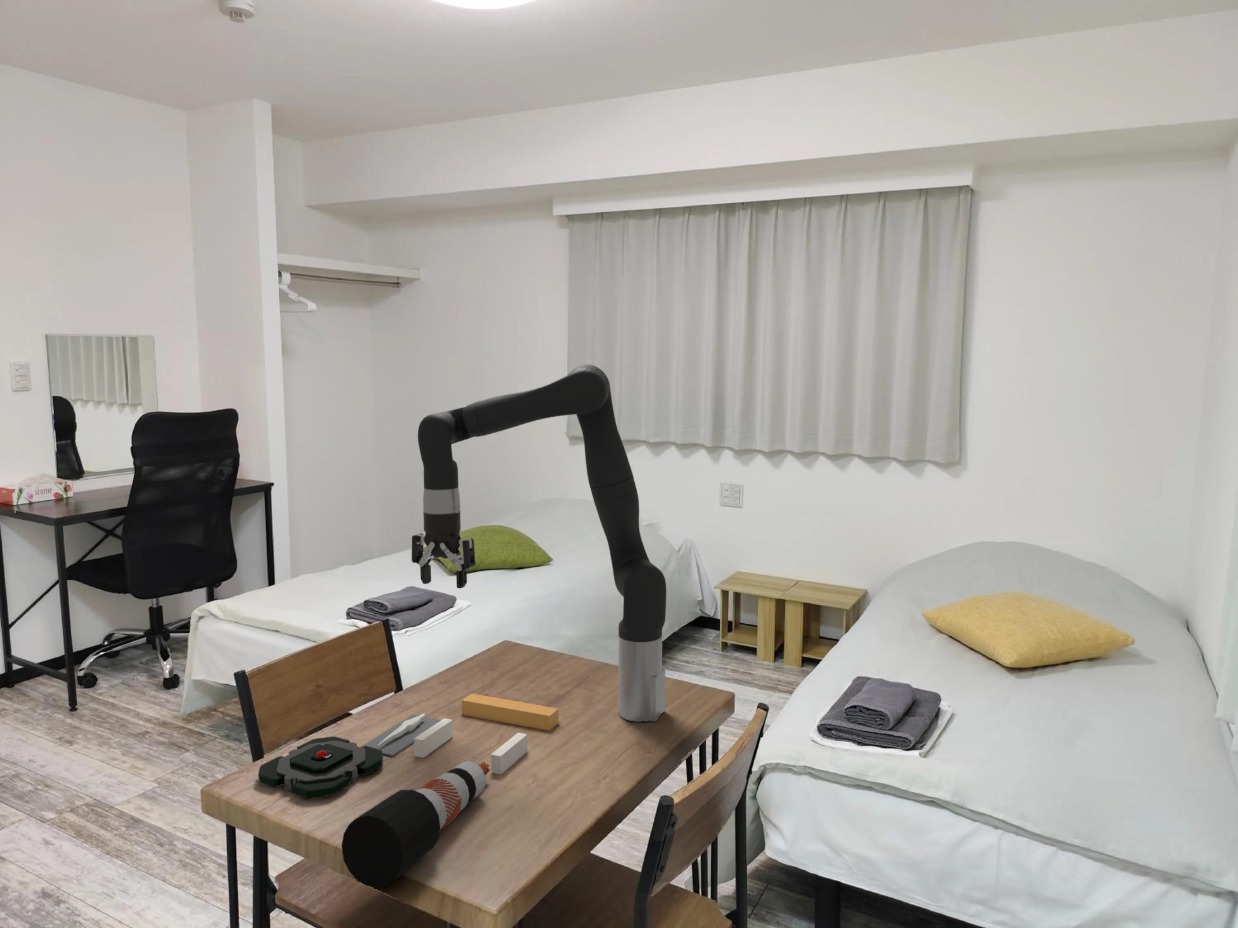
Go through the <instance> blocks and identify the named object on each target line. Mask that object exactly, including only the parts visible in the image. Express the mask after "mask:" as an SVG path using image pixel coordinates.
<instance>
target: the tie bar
mask: <svg viewBox="0 0 1238 928" xmlns="http://www.w3.org/2000/svg"><path fill="white" fill-rule="evenodd" d="M559 713H560V710H559V708H558V707H557V708H556V707H552V706H546V705H545V706H544V705H539V704H534V703H529V702H522V701H517V700H510V699H506V698H500V697H494V696H488V695H483V694H482V695H481V694H476V693H471V694H468V695H467V696H466V697H465V698H463V699H462V700H461V715H463V716H469V717H474V718H480V719H484V720H489V721H495V722H499V723H507V724H512V725H516V726H522V727H526V728H527V727H528V728H531V729H532V728H533V729H539V730H544V731H551V730H553V729H554V728H555V727H556V726H558V724H559V723H560V721H559V719H560V718H559Z"/></svg>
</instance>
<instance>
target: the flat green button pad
mask: <svg viewBox="0 0 1238 928" xmlns="http://www.w3.org/2000/svg"><path fill="white" fill-rule="evenodd" d="M357 745H358V744H357V743H356V742H354V741H350V739H346V738H342V737H338V736H334V735H333V736H325V737H316V738H312V739H310V740H309V741H306V742H304V743H302V744H300V745H299V746H296V748H294V749H292V750H290V751H288V754H287V755H285V756H283V755H279V756H276V757H274V758H272V759H270V760H269V761H266V762H265V763H262V764H261V765H260V766H259V768H258V773H257V779H258V780H257V781H258V783H260V784H264V785H267V786H270V787H271V788H272V787H273V788H277V787H280V786H284V790H286V791H289V792H290V793H291V794H294V795H295V796H299V797H302V798H305V799H315V798H317V799H318V798H323V797H329V796H333V795H335V794H337V793H338V792H341V791H342V790H343V789H346V788H347V787H349V786H350V783H353V782H355V781H357V780H358V779H359V778H358V776H360V775H362V776H367V775H369V774H371V773H373V772H374V771H377V770H378V769H380V768H382V767H383V765H384V755H383V753H382V750H380V749H377V748H373V747H369V746H363V745H362V747H361V746H359V745H358V746H357Z"/></svg>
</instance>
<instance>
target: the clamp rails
mask: <svg viewBox="0 0 1238 928" xmlns="http://www.w3.org/2000/svg"><path fill="white" fill-rule="evenodd" d="M440 720H441V721H439V722H438V723H436V724H435V725H433V726H432V727H430V728H429V729H427V730H426V731H424V732H423V733H421V734H420V735H418V736H417V737H415V738H414V743H413V748H414V749H413V752H414V755H413V756H414V757H417V758H421V759H422V758H425V757H427V756H428V755H430V754H431V753H433V751H435V750H437V748H439V747H441V746H442V745H443V744H445V743H447V741H449V740H451V738H453V737H454V726H453V725H454V724H453V723H454V721H453V719H450V718H442V719H440ZM528 750H529V749H528V734H527V733H523V732H517V733H515V734H514V735H513V736H512V737H511V738H509V739H507V741H506V742H505V743H503V744H502V745H501V746H499V748H497V749H496V750H494V751H493V752H492V753H491V754H490V767H491V768H490V769H491V770H490V771H491V773H492V774H496V775H503V774H504V772H506V771H507V770H508V769H509V768H510V767H511V766H513V765H515V763H516V762H517V761H519V760H520V759H521V758H522V757H523V756H524V755H526V754H527V753H528Z"/></svg>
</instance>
